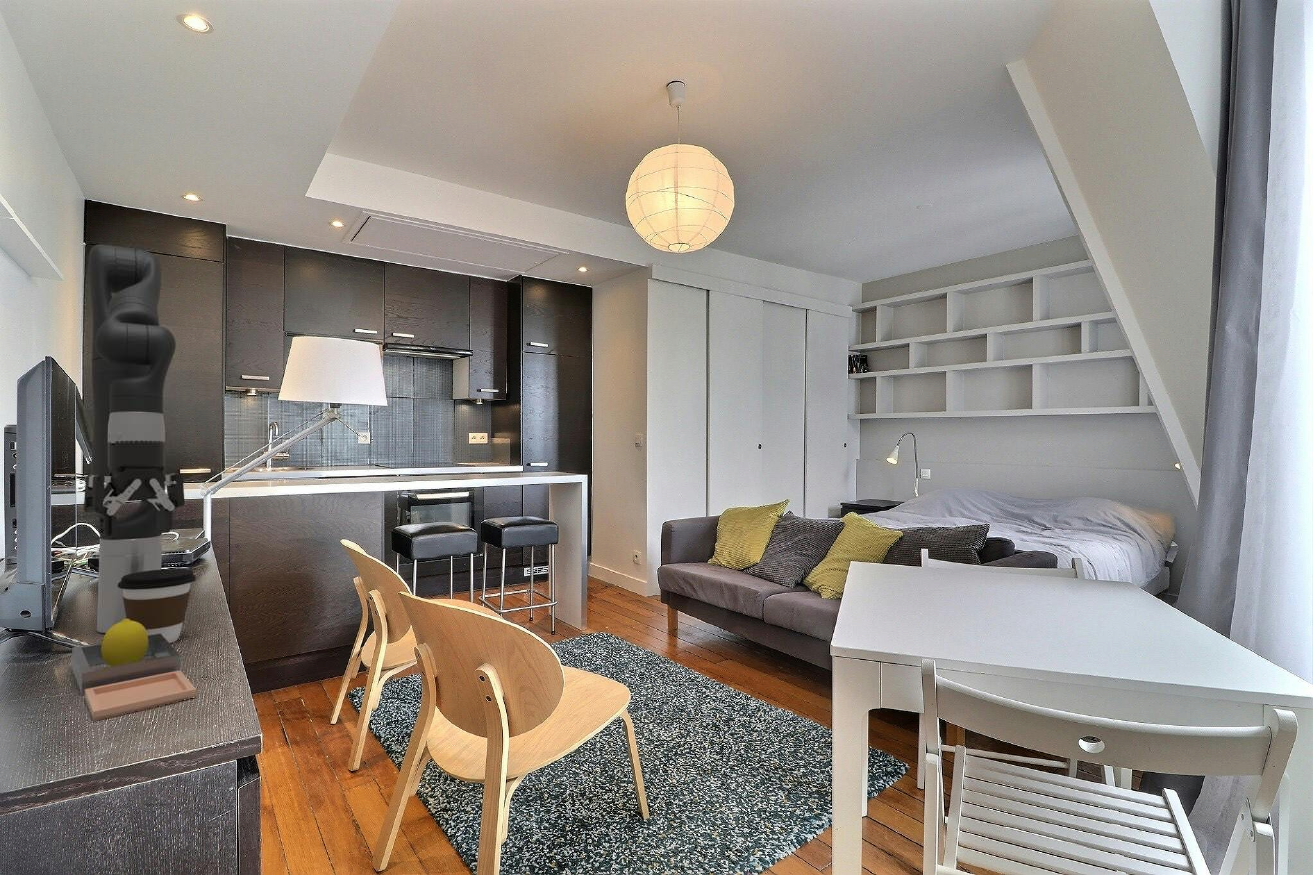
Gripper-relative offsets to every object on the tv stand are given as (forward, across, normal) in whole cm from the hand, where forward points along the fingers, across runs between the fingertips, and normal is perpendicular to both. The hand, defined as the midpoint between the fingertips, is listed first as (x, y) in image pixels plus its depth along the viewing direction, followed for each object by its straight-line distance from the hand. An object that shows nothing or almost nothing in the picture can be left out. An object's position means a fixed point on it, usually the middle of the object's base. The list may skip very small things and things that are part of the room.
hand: (137, 535), depth 106 cm
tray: (+21, +14, +21) cm, 32 cm away
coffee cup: (+20, -5, -3) cm, 21 cm away
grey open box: (+20, +7, +7) cm, 22 cm away
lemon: (+20, +7, +7) cm, 23 cm away
